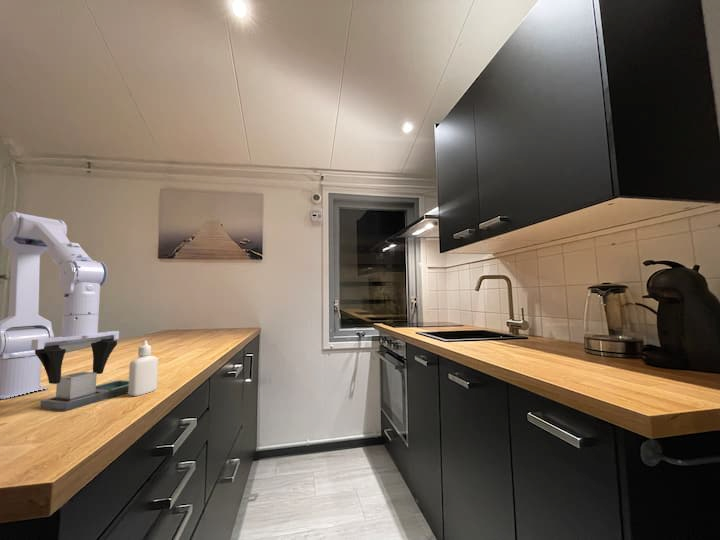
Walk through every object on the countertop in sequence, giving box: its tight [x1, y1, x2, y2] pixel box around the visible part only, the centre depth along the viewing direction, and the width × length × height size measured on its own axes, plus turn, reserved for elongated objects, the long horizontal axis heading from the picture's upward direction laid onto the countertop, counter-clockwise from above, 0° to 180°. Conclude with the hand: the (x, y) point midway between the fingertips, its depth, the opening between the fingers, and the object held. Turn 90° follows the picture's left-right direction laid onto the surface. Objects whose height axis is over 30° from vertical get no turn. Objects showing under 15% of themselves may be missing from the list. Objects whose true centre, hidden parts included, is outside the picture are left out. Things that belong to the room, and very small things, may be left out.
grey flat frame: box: [39, 379, 129, 412], centre depth 65 cm, size 8×15×2 cm, turn 163°
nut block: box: [55, 371, 97, 402], centre depth 62 cm, size 4×4×6 cm
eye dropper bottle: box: [127, 340, 159, 397], centre depth 68 cm, size 4×6×12 cm
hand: (77, 378), depth 62 cm, fingers open, 7 cm apart
